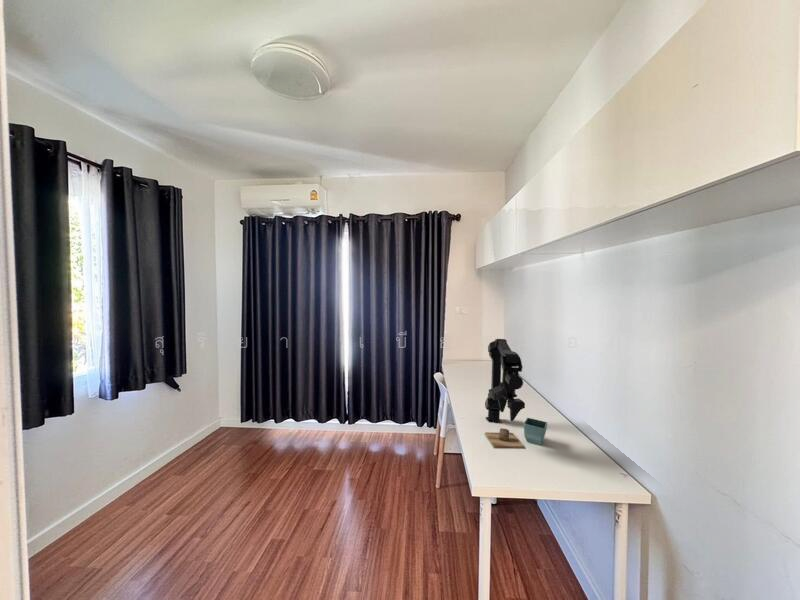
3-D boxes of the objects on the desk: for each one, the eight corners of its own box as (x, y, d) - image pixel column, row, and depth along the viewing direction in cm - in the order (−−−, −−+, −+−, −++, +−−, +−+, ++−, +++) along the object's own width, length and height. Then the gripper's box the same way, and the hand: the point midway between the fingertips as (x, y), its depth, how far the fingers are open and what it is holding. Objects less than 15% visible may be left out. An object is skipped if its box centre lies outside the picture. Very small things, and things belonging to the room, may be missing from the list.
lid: (485, 434, 158) (485, 423, 157) (512, 434, 158) (513, 424, 158) (494, 447, 145) (494, 436, 144) (524, 448, 145) (524, 437, 145)
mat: (483, 434, 158) (483, 433, 158) (513, 435, 159) (513, 434, 159) (493, 449, 144) (493, 448, 144) (525, 449, 145) (525, 448, 145)
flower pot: (546, 441, 154) (547, 421, 153) (543, 449, 146) (544, 428, 146) (526, 436, 158) (527, 417, 158) (522, 443, 151) (523, 423, 150)
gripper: (482, 375, 157) (481, 408, 158) (501, 389, 139) (499, 426, 140) (505, 375, 159) (503, 407, 160) (526, 388, 141) (524, 425, 142)
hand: (506, 416), depth 151 cm, fingers open, 9 cm apart
